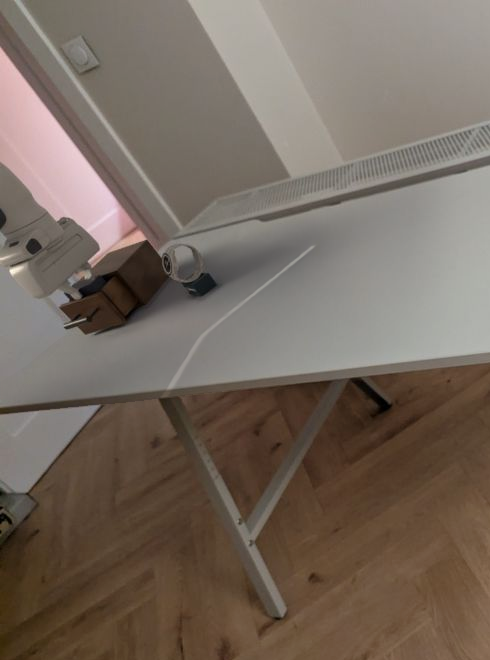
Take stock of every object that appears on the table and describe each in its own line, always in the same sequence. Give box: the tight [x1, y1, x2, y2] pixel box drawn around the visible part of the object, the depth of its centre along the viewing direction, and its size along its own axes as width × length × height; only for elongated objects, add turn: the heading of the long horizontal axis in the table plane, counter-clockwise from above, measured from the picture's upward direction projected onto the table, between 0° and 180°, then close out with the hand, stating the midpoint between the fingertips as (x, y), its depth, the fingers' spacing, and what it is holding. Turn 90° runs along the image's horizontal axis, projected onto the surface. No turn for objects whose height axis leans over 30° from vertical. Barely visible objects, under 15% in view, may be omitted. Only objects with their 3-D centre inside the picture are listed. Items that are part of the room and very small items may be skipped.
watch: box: [161, 243, 218, 297], centre depth 116 cm, size 6×8×11 cm
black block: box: [63, 275, 107, 301], centre depth 117 cm, size 7×4×4 cm, turn 90°
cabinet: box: [77, 239, 170, 310], centre depth 128 cm, size 15×12×10 cm
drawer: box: [58, 274, 139, 336], centre depth 119 cm, size 18×10×8 cm, turn 0°
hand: (87, 290), depth 117 cm, fingers closed on black block, 4 cm apart
